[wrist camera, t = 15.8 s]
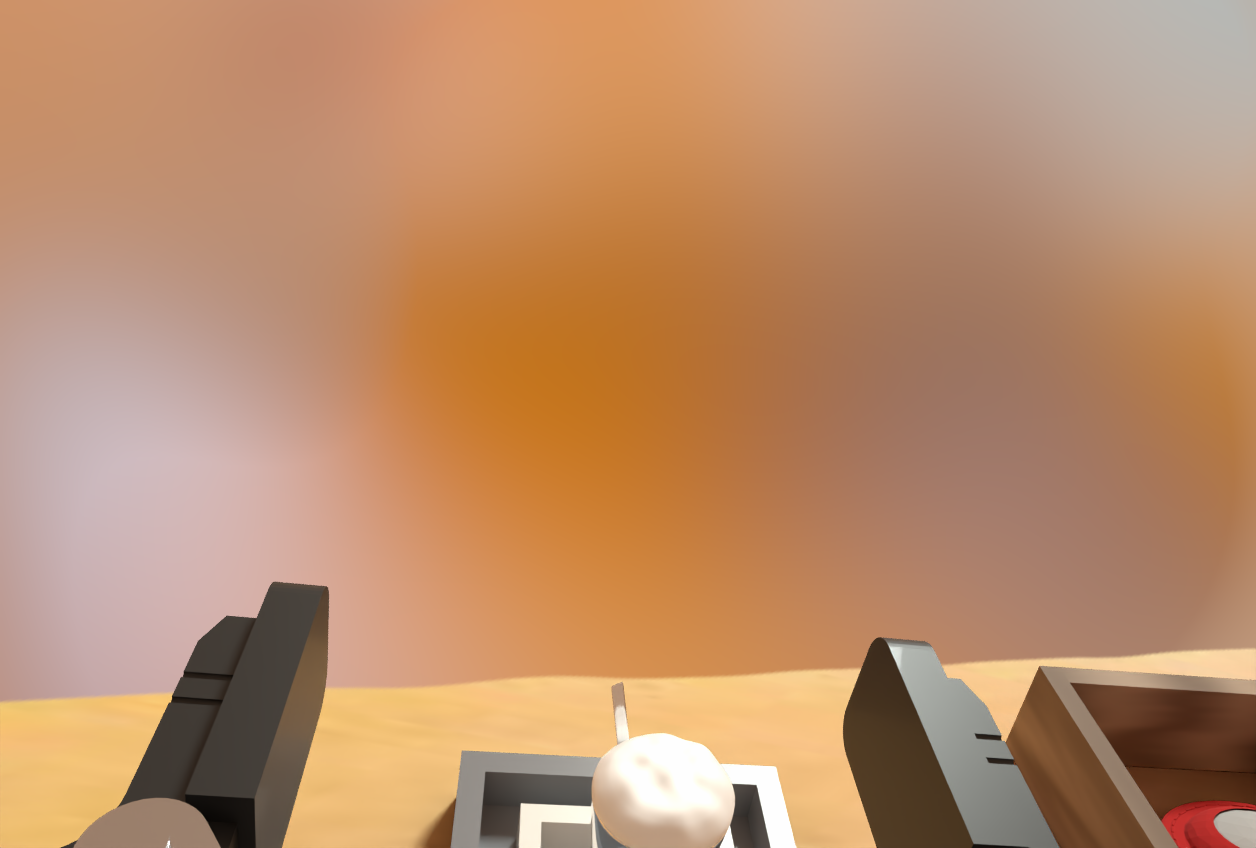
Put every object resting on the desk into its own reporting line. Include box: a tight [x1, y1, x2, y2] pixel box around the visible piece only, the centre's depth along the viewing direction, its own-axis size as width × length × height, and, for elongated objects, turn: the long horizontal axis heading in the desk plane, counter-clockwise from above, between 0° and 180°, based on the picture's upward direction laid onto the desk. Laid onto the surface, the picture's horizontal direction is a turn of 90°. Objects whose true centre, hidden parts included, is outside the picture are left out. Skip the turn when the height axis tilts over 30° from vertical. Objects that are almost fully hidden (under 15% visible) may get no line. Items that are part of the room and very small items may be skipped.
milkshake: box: [590, 682, 735, 848], centre depth 32 cm, size 4×5×10 cm
